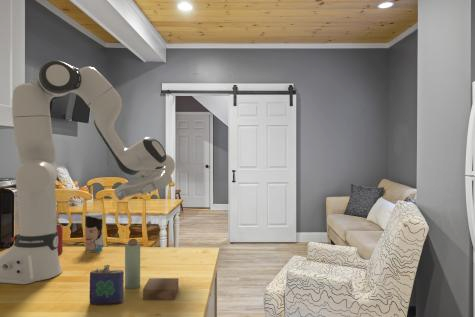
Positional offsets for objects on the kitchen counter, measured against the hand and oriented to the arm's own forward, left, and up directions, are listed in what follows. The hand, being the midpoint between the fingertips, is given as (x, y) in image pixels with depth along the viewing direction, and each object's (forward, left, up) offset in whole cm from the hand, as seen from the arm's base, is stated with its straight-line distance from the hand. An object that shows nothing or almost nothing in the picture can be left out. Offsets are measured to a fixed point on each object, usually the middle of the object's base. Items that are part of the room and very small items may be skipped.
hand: (130, 195), depth 123 cm
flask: (-1, -21, -28) cm, 35 cm away
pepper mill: (+3, -8, -27) cm, 29 cm away
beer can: (-37, +26, -28) cm, 53 cm away
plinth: (+13, -14, -27) cm, 33 cm away
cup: (-23, +32, -28) cm, 48 cm away
